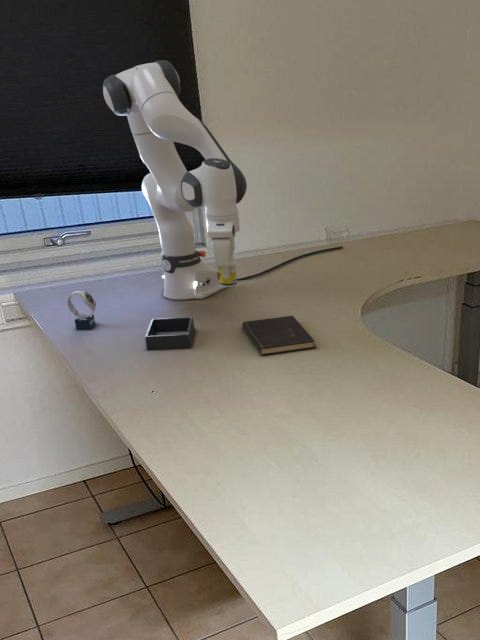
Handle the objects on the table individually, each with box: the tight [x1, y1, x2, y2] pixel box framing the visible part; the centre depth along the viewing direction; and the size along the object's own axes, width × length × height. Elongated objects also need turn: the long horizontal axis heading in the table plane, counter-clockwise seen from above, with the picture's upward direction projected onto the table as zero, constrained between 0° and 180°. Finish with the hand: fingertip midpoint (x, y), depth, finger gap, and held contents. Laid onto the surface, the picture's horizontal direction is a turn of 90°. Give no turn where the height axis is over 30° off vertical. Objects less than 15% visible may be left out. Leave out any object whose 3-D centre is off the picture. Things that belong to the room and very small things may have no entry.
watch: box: [66, 290, 97, 331], centre depth 228 cm, size 6×8×11 cm
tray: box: [144, 316, 195, 351], centre depth 220 cm, size 15×12×4 cm
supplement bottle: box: [217, 254, 238, 288], centre depth 209 cm, size 5×5×8 cm
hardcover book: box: [242, 315, 316, 357], centre depth 220 cm, size 16×23×2 cm
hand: (227, 275), depth 210 cm, fingers closed on supplement bottle, 5 cm apart
